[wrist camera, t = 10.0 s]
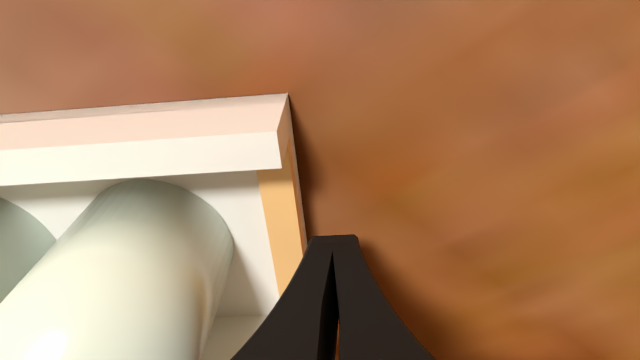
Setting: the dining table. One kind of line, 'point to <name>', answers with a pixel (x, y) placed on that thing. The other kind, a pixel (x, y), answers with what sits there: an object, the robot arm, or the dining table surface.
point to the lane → (176, 183)
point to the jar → (123, 281)
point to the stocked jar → (19, 244)
